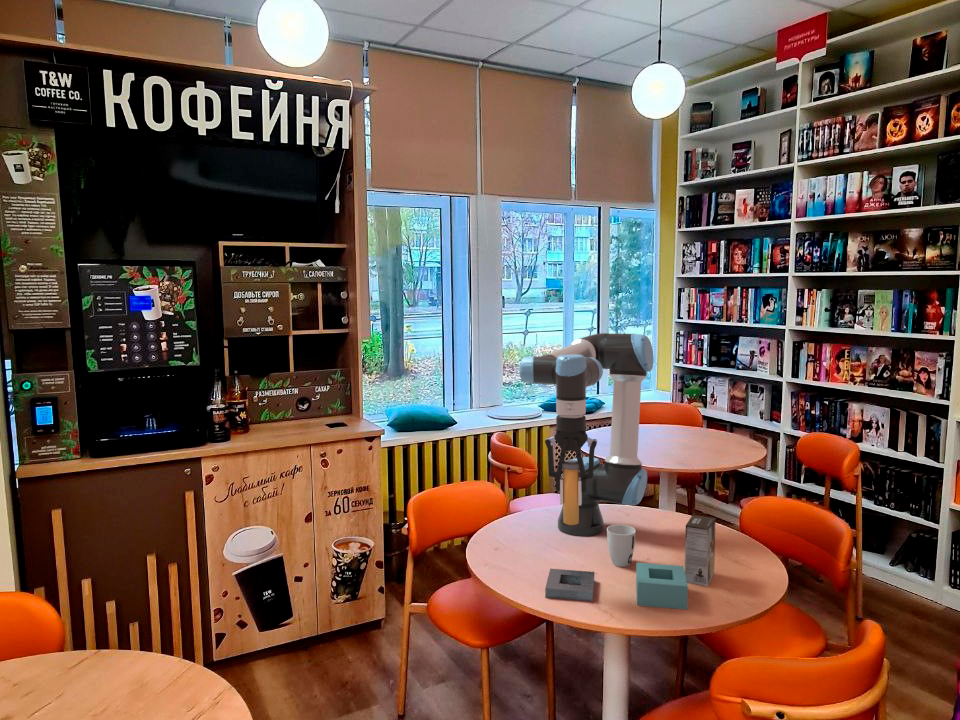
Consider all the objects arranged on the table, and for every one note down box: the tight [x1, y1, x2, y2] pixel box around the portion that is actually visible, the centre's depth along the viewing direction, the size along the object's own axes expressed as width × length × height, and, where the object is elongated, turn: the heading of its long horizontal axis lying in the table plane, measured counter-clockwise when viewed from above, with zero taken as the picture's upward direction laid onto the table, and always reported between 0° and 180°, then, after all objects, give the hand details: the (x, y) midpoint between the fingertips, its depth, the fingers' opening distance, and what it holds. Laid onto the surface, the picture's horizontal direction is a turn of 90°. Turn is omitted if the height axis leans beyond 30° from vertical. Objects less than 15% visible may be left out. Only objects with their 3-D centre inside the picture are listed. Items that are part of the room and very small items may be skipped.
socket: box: [635, 562, 689, 610], centre depth 168 cm, size 12×12×6 cm
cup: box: [606, 524, 637, 568], centre depth 188 cm, size 8×8×10 cm
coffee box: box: [684, 514, 717, 587], centre depth 177 cm, size 9×6×16 cm
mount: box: [545, 568, 595, 602], centre depth 173 cm, size 12×12×2 cm
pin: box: [562, 459, 579, 525], centre depth 170 cm, size 5×5×16 cm
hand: (571, 503), depth 170 cm, fingers closed on pin, 4 cm apart
